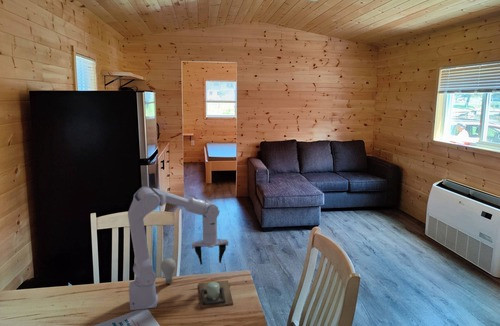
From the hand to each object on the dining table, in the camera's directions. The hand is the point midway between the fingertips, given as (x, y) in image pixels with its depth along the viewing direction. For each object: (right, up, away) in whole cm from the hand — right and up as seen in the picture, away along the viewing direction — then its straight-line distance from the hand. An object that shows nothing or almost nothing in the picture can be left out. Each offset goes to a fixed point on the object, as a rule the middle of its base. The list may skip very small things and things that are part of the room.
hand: (210, 262), depth 147 cm
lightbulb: (-17, -9, +2) cm, 20 cm away
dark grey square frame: (+2, -12, -8) cm, 14 cm away
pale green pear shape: (+2, -11, -9) cm, 14 cm away
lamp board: (+2, -11, -5) cm, 12 cm away
